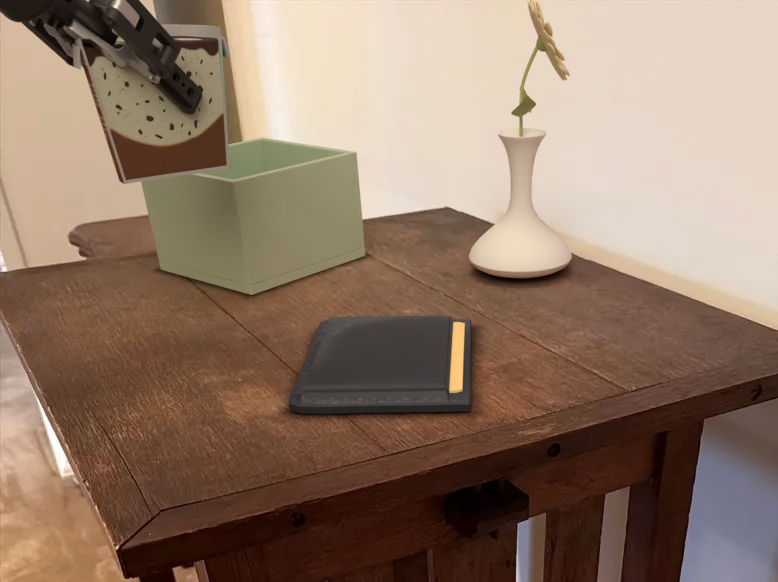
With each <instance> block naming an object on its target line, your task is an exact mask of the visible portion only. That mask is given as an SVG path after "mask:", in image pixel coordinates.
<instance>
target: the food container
mask: <svg viewBox="0 0 778 582" xmlns="http://www.w3.org/2000/svg"><path fill="white" fill-rule="evenodd" d="M161 26H162V27H163V28H164V29H165V30H166V31H167V32H168V33H169V35H170V36H171V37H172V38H173V39H174V40H175V41H176V42H177V44H178V45H179V46H180V47H181V51H180V53H179V55H178V57H177V59H176V61H175V63H176V64H177V65H178V66H179V67H180V68H181V69H182V70H183V71H184V72H185V73H186V74H187V75H188V76H189V77H190V79H191V80H192V81H193V82H194V83H195V84H196V85H197V86H198V87H199V88H200V89H201V91H202V99H201V101H200V103H199V105H198V107H197V109H196V111H195V113H194V114H193V115H189V114H184V113H183V112H182V111H181V110H180V109H179V108H178V107H177V106H176V105H175V104H174V103H173V102H172V101H171V100H170V99H169V98H168V97H166V96H165V95H164V94H163V93H162V92H161V91H160V90H159V89H158V88H157V87H156V86H155V85H154V84H153V82H151V81H150V80H149V79H148V78H146V77H145V76H143V75H142V74H141V73H139V72H138V71H136V70H135V69H134V68H132V67H131V66H126V67H120V66H118V65H117V64H115V63H114V62H113V61H111V60H110V59H108V58H107V57H106V56H104V55H103V54H101V53H100V52H99V51H98V50H97V49H95V48H94V47H92V46H90V45H88V44H82V41H81V39H80V38H78V40H76V39H75V42H74V43H73V62H74V67H73V68H75V69H77V70H82V68H83V71H84V75H85V77H86V80H87V83H88V86H89V90H90V93H91V96H92V100H93V102H94V105H95V108H96V112H97V115H98V118H99V121H100V124H101V127H102V131H103V135H104V136H105V140H106V143H107V146H108V147H107V148H108V149H109V152H110V156H111V159H112V162H113V165H114V168H115V172H116V173H117V174H116V175H117V178H118V181H119V182H120V183H121V184H123V185H127V184H134V183H141V182H142V181H148V180H155V179H162V178H169V177H175V176H182V175H189V174H196V173H202V172H209V171H216V170H223V169H229V168H230V158H229V144H230V143H229V129H228V128H229V127H228V116H227V100H226V85H225V70H224V68H225V67H224V58H230V57H231V54H230V50H229V48H228V43H227V41H226V38H225V37H226V36H223V35H222V31H221V26H216V25H207V24H178V23H177V24H175V23H173V24H171V23H167V24H161ZM155 39H156V38H155ZM124 43H125V41H124V40H123V39H122V38H121V37H120V36H118V38H117V41H116V43H115V45H114V46H113V47H114V48H116V49H120V48H122V47H123V45H124ZM151 51H152V50H151ZM133 52H134V51H133ZM152 53H153V51H152ZM134 55H135V56H136V57H138V58H139V59H140V60H142V59H141V58H140V57H139V56H138V55H137V54H136V53H135V52H134ZM142 61H143V60H142ZM143 62H144V61H143ZM81 63H82V65H83V67H82V66H81Z"/></svg>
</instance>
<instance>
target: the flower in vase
mask: <svg viewBox="0 0 778 582" xmlns="http://www.w3.org/2000/svg"><path fill="white" fill-rule="evenodd" d="M527 7H528V13H529V16H530V19H531V22H532V26H533V27H534V30H535V32H536V34H537V38H536V42H535V47H534V48H533V51H532V53H531V56H530V57H529V60H528V63H527V64H526V67H525V70H524V72H523V76H522V79H521V83H520V86H519V101H518V102H519V103H518V105H517V106H516V107H515V108H514V109H513V110H512V111H511V113H510V114H511V115H513V116H515V117H517V118H518V119H519V120H518V121H519V122H518V123H519V125H518V126H519V127H515V128H508V129H502V130H498V132H497V136H498V138H499V139H500V141H501V142H502V144H503V147H504V149H505V153H506V156H507V160H508V161H507V162H508V165H509V176H510V197H509V204H508V207H507V209H506V212H505V213H504V214H503V215H502V217H501V218H500V219H498V221H497V222H496V223H494V224H493V225H492V226H491V227H490V228H489V229H487V231H485V232H484V233H483V234H482V235H481V236H480V237H479V238H478V239H476V240H477V241H475V243H474V244H473V245H472V246H471V249H470V251H469V254H468V260H469V262H470V263H471V265H472V266H473V267H474V268H475V269H477V270H479V271H481V272H483V273H485V274H488V275H490V276H495V277H499V278H500V277H501V278H506V279H507V278H508V279H530V278H531V279H532V278H540V277H545V276H548V275H552V274H554V273H557V272H559V271H561V270H563V269H565V268H566V267H567V266H568V265H569V264H570V262H571V260H572V258H573V255H572V252H571V249H570V246H569V245H568V244H567V243H566V241H565V240H564V238H563V237H562V236H561V235H559V234H558V232H556V231H555V230H554V229H553V228H552V227H550V226H549V224H547V223H546V222H545V221H544V220H543V219H541V217H540V216H539V215H538V213H537V212H536V210H535V208H534V204H533V195H532V191H533V190H532V189H533V188H532V187H533V172H534V165H535V161H536V156H537V153H538V150H539V147H540V145H541V143H542V142H543V140H544V138H545V137H546V135H547V131H546V130H543V129H539V128H532V127H531V128H530V127H524V124H523V123H524V121H523V118H524V117H523V116H526V115H527V114H528V113H532V110H533V109H534V108H536V106H537V103H536V101H534V100H533V99H532V98H531V97H530V96H529V95H528V94H527V91H526V89H525V84H526V80H527V77H528V74H529V72H530V69H531V66H532V65H533V62H534V60H535V57H536V56H537V53H538V51H539V52H544V53H545V55H546V56H547V58H548V60H549V62H550V64H551V65H552V67H553V69H554V71H555V72H556V74H557V75H558V76H559V78H560V79H561V80H562V81H568V77H571V74H570V71H569V70H568V69H567V66H566V65H565V63H564V62H565V56H564V53H563V52H562V51H561V49H560V48H559V46H557V45H556V42H555V40H554V38H553V36H554V35H553V33H554V32H553V28H552V26H551V23H550V22H549V21H546V22H545V20H544V16H543V12H542V11H543V10H542V8H541V5H540V2H539V1H538V0H527ZM567 76H568V77H567Z"/></svg>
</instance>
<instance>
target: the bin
mask: <svg viewBox="0 0 778 582" xmlns="http://www.w3.org/2000/svg"><path fill="white" fill-rule="evenodd" d="M357 153H358V152H356V151H353V150H352V151H351V150H345V149H340V148H333V147H326V146H320V145H312V144H306V143H299V142H293V141H287V140H281V139H280V140H279V139H273V138H267V137H257V138H252V139H247V140H243V141H238V142H234V143H229V158H230V168H229V169H223V170H216V171H209V172H202V173H196V174H189V175H182V176H175V177H169V178H162V179H155V180H148V181H142V182H140V183H141V187H142V192H143V196H144V201H145V204H146V210H147V215H148V219H149V222H150V228H151V232H152V237H153V241H154V246H155V250H156V255H157V259H158V264H159V269H160V271H164V272H166V273H167V272H168V273H171V274H174V275H178V276H182V277H185V278H190V279H193V280H196V281H199V282H204V283H206V284H211V285H214V286H217V287H222V288H225V289H229V290H232V291H236V292H240V293H242V294H245V295H250V296H253V295H256V294H259V293H262V292H266V291H268V290H270V289H274V288H276V287H279V286H282V285H285V284H288V283H291V282H294V281H297V280H300V279H303V278H305V277H308V276H312V275H314V274H317V273H319V272H323V271H326V270H328V269H332V268H335V267H338V266H341V265H342V264H346V263H348V262H352V261H354V260H355V261H356V260H357V259H358V260H359V259H360V258H361V259H362V258H364V257H365V256H366V245H365V233H364V223H363V221H364V220H363V214H362V213H363V212H362V211H363V210H362V200H361V188H360V176H359V166H358V154H357Z"/></svg>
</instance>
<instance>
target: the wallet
mask: <svg viewBox="0 0 778 582" xmlns="http://www.w3.org/2000/svg"><path fill="white" fill-rule="evenodd" d="M471 358H472V319H468V318H467V319H466V318H465V319H461V318H460V319H454V318H452V316H449V315H367V316H366V315H365V316H364V315H363V316H362V315H361V316H359V315H356V316H355V315H354V316H341V317H340V316H338V317H337V316H336V317H333V316H332V317H329V318H327V319H325V320H322V321H321V322H319V324H318V326H317V328H316V331H315V332H314V335H313V338H312V341H311V343H310V346H309V349H308V352H307V355H306V357H305V360H304V363H303V364H302V367H301V370H300V372H299V374H298V376H297V379H296V381H295V383H294V385H293V388H292V390H291V392H290V393H289V398H288V408H289V411H291V412H294V413H297V414H301V415H343V414H344V415H349V414H351V415H352V414H356V415H357V414H408V413H409V414H416V413H418V414H422V413H423V414H425V413H427V414H428V413H469V412H471V406H472V387H471V375H472V372H471V371H472V369H471V368H472V366H471V365H472V359H471Z"/></svg>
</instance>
